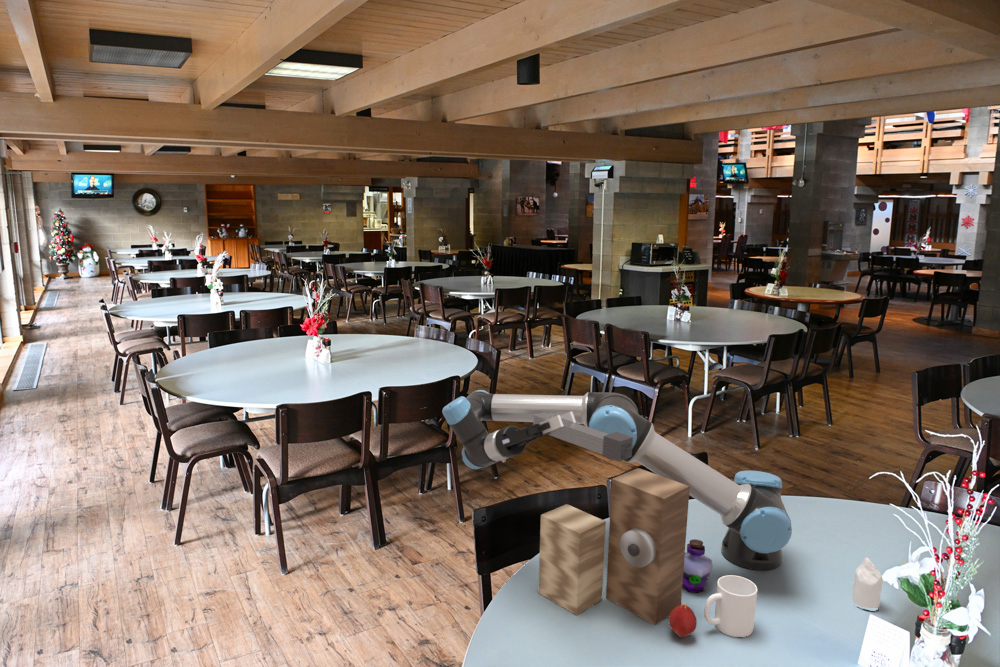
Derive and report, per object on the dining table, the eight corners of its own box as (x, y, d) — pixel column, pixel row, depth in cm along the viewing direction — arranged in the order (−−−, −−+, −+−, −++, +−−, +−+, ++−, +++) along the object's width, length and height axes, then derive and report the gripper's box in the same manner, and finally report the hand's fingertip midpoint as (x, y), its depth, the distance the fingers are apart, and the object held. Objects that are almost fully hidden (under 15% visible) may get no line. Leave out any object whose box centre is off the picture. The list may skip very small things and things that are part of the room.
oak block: (601, 600, 160) (605, 521, 156) (576, 615, 154) (579, 533, 150) (563, 579, 168) (566, 503, 165) (538, 592, 162) (540, 514, 159)
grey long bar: (531, 429, 162) (532, 411, 161) (544, 425, 164) (545, 408, 164) (618, 461, 143) (620, 441, 142) (631, 456, 146) (632, 437, 145)
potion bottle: (683, 598, 161) (687, 551, 159) (669, 578, 170) (672, 534, 167) (717, 595, 163) (721, 549, 160) (701, 576, 171) (705, 531, 169)
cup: (761, 634, 148) (765, 592, 146) (714, 644, 144) (717, 601, 142) (737, 613, 156) (741, 572, 154) (692, 621, 152) (695, 580, 150)
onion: (664, 628, 150) (666, 595, 148) (689, 627, 150) (692, 594, 149) (672, 645, 144) (675, 611, 142) (699, 644, 144) (702, 610, 143)
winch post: (680, 607, 157) (689, 486, 152) (646, 631, 148) (655, 502, 143) (631, 582, 167) (638, 467, 162) (597, 603, 159) (602, 482, 153)
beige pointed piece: (891, 562, 156) (873, 566, 154) (884, 609, 158) (867, 614, 156) (868, 550, 161) (851, 554, 159) (862, 595, 163) (845, 600, 161)
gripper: (533, 450, 177) (595, 427, 160) (485, 465, 166) (547, 442, 149) (524, 422, 179) (585, 397, 162) (476, 436, 168) (535, 410, 151)
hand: (566, 419), depth 156 cm, fingers closed on grey long bar, 3 cm apart
